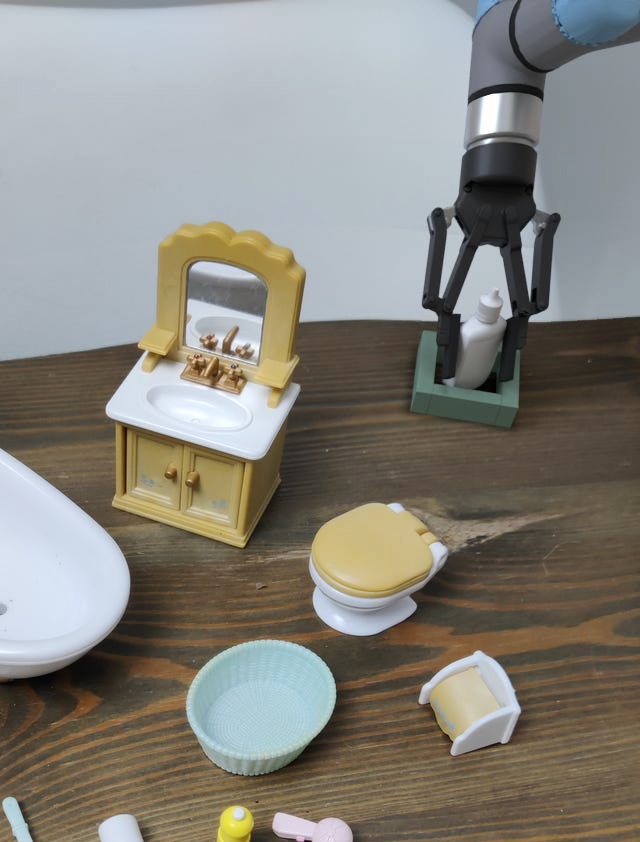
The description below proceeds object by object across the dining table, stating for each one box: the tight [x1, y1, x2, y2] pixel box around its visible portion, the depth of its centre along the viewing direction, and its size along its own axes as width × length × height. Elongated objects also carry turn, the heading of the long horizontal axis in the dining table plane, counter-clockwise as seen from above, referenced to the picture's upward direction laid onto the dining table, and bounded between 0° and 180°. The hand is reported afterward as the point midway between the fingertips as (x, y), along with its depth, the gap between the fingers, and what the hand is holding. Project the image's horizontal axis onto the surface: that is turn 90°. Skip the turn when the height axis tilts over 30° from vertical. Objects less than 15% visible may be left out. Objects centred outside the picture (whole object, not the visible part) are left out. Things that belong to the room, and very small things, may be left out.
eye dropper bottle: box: [441, 286, 507, 390], centre depth 106 cm, size 4×6×12 cm
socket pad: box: [409, 329, 521, 429], centre depth 111 cm, size 11×11×4 cm
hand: (476, 379), depth 106 cm, fingers closed on eye dropper bottle, 5 cm apart
